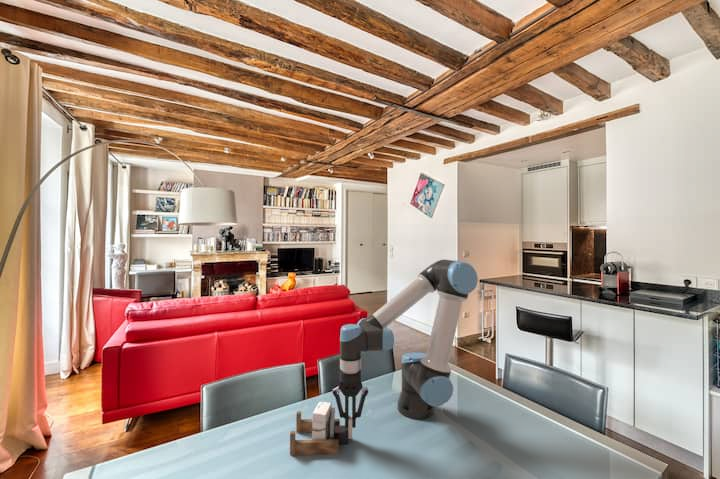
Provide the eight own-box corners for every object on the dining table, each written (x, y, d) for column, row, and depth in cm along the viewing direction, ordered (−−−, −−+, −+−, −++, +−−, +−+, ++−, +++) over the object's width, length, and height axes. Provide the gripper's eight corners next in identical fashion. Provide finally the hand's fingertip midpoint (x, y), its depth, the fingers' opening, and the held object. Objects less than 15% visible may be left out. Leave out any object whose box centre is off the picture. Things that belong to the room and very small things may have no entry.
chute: (339, 429, 115) (339, 410, 115) (338, 454, 102) (338, 433, 102) (297, 430, 115) (297, 411, 115) (289, 455, 101) (290, 433, 101)
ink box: (325, 450, 104) (325, 414, 104) (311, 448, 105) (311, 413, 105) (332, 434, 112) (331, 401, 112) (319, 433, 113) (318, 400, 113)
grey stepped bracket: (348, 431, 113) (348, 407, 114) (348, 449, 104) (348, 422, 104) (331, 431, 113) (331, 407, 113) (329, 449, 104) (330, 422, 104)
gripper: (368, 365, 113) (367, 429, 113) (332, 365, 112) (332, 430, 112) (369, 373, 105) (369, 442, 105) (331, 374, 105) (331, 443, 105)
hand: (350, 436), depth 109 cm, fingers closed
